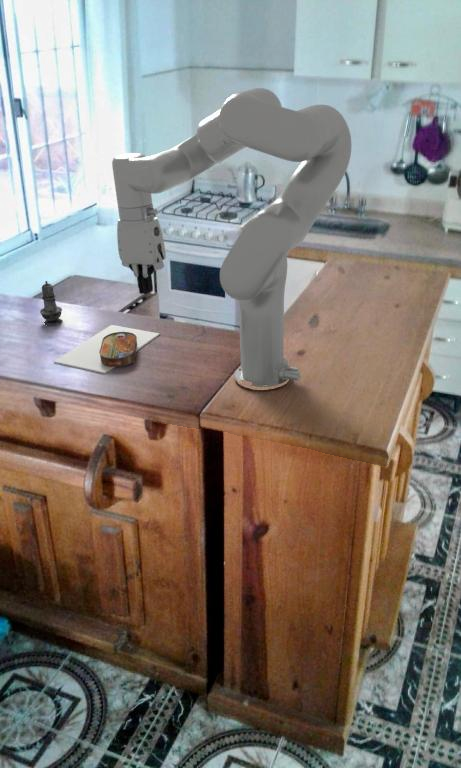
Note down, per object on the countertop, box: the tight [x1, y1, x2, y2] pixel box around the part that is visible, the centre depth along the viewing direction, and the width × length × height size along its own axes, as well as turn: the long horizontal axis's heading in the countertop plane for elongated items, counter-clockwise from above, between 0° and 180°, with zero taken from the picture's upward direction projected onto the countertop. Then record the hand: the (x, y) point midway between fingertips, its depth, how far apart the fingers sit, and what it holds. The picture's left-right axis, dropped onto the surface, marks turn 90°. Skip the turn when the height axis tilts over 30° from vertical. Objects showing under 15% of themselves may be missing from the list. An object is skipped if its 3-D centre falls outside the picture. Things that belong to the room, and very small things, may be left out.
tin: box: [99, 332, 137, 367], centre depth 172 cm, size 15×3×8 cm
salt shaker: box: [39, 280, 64, 327], centre depth 190 cm, size 6×6×12 cm
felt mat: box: [53, 324, 160, 374], centre depth 177 cm, size 15×24×1 cm, turn 154°
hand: (146, 291), depth 164 cm, fingers closed
